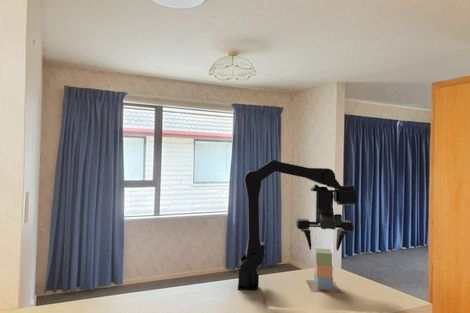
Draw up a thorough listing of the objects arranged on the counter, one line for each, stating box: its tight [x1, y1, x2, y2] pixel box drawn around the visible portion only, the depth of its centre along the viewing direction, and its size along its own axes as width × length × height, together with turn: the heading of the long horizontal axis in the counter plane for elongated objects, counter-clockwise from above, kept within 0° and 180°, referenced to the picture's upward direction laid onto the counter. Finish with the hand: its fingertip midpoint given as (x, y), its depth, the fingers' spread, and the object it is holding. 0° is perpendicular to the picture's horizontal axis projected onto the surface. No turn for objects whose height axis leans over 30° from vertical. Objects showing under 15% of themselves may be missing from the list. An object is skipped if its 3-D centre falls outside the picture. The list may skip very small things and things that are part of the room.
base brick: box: [313, 270, 334, 290], centre depth 119 cm, size 5×7×4 cm
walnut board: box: [305, 279, 343, 294], centre depth 119 cm, size 10×12×1 cm
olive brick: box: [315, 248, 333, 266], centre depth 120 cm, size 5×7×4 cm
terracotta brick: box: [314, 259, 334, 278], centre depth 119 cm, size 5×7×4 cm
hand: (323, 249), depth 120 cm, fingers open, 9 cm apart
